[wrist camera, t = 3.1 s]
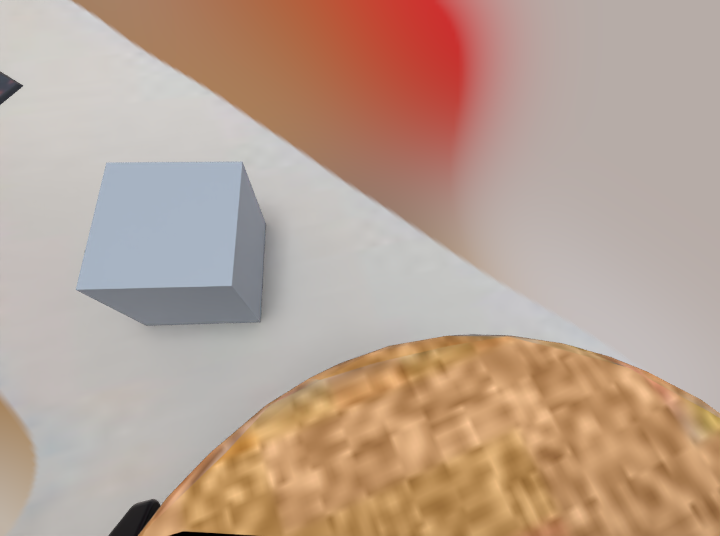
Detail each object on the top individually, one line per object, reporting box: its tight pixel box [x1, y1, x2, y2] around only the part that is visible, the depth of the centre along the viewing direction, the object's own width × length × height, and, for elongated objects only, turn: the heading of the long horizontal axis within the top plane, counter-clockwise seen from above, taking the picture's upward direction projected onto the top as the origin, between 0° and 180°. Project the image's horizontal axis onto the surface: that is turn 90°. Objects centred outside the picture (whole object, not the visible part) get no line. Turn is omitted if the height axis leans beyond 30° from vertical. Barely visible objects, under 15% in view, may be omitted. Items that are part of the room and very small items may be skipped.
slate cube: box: [76, 162, 266, 325], centre depth 16 cm, size 5×5×5 cm
